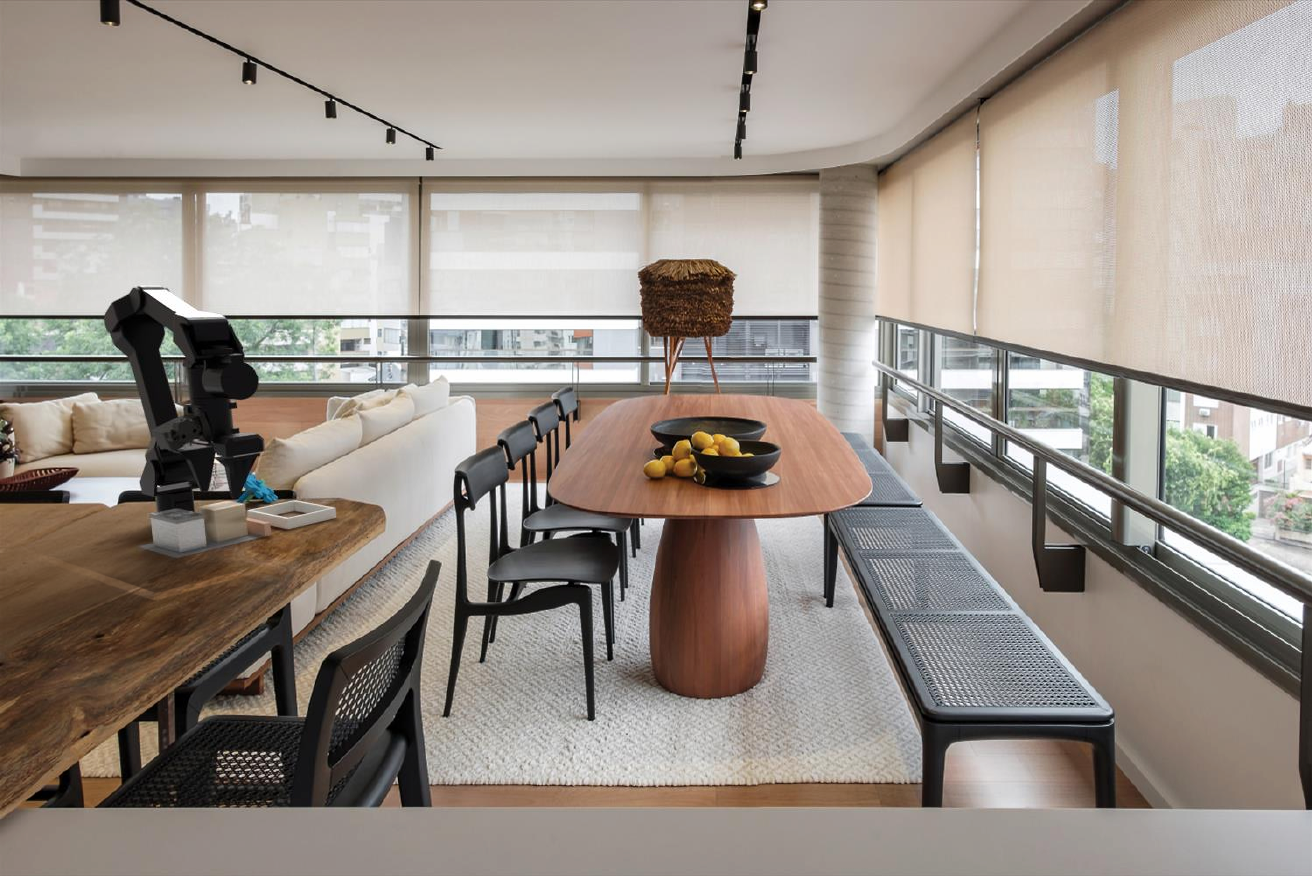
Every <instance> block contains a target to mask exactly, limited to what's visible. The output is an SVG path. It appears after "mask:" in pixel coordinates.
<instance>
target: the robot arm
mask: <svg viewBox="0 0 1312 876" xmlns="http://www.w3.org/2000/svg"><path fill="white" fill-rule="evenodd" d="M103 323H104V328H105V330H106V332H107V333H109V336H110V338H111V341H112V344H113V346H114V347H115V348H117V349H118V351H120V352H121V353H123V355H125V357H127V358H128V360H129V363H130V367H131V370H132V373H133V378H134V380H135V385H136V389H137V391H138V395H139V398H140V402H141V406H142V409H143V413H144V416H145V421H146V424H147V428H148V431H149V435H150V441H149V444H148V446H147V450H146V451H145V454H144V457H145V464H144V465H145V466H144V468H143V471H142V474H141V476H140V479H139V485H140V490H141V494H143V495H146V496H148V497H149V496H150V497H152V498H154V497H155V498H154V499H155V507H156V512H161V511H166V510H171V509H176V508H178V509H182V510H186V511H191V512H195V513H196V508H195V498H194V490H195V489H199V491H200V492H201V493H206V492H208V491H209V490H210V486H211V483H212V482H211V481H212V475H213V470H214V467H215V460H216V461H217V462H219V463H220V465H222V467H224V473H225V476H226V480H227V486H228V489H229V493H230V497H231V498H232V499H239V498H240V497H241V496H242V495H241V494H242V492H243V489H244V485H245V482H246V480H247V477H248V475H249V474H250V473H251V471H252V468H253V467H254V464H255V462H256V461H257V458H258V457H260V456H261V453H263V452H265V450H266V448H265V447H266V446H265V439H264V437H262V435H260V434H259V433H253V432H240V427H234V421H233V420H234V419H233V411H232V410H234V409H238V403H237V401H245V400H247V399H249V398H251V397H252V396H254V394H255V393H256V392H257V390H258V387H259V382H260V378H259V375H258V373H257V372H256V370H255V369H254V367H253V366H252V365H250V364H249V363H247V362H244V359H245V357H246V356H245V352H244V345H243V344H242V342H241V341H240V339H239V338H238V336H237V334H236V333H235V331H234V327H233V325H232V324H231V323H230V322H229V320H228V319H227V318H226V316H224V315H222V314H218V313H216V312H211V311H202V310H201V311H200V310H197V309H195V308H194V307H193V306H190V304H188V303H187V302H184V300H182V299H180V298H178V297H177V296H175V294H173V293H171V291H170V289H169V288H168V287H165V286H163V285H137V286H136V287H132V288H131V290H130V291H129V293H127V294H126V295H124V296H121V297H119V298H118V299H116V300H113V301H112V302H111V304H110V305H109V306H108V308H107V309H106V310H105V312H104V316H103ZM165 328H166V329H167V330H169V331H170V332H172V335H173V336H172V342H173V343H174V345H175V346H176V347H177V348H178V349H179V350H180V352H181V353H182V354H183V356H184V357H185V359H184V360H183V361H182V363H181V366H182V367H183V368H186V377H187V386H188V396H189V397H188V398H189V403H186V404H184V406H183V407H182V411H183V415H181V416H179V414H178V410H177V407H176V404H175V400H174V396H173V394H172V389H171V386H170V383H169V380H168V379H169V378H168V375H167V372H166V369H165V366H164V362H163V358H162V355H161V351H160V349H161V346H162V344H163V341H164V338H165V336H166V330H165ZM232 400H235V401H232Z"/></svg>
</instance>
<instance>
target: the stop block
mask: <svg viewBox="0 0 1312 876" xmlns="http://www.w3.org/2000/svg"><path fill="white" fill-rule="evenodd" d="M197 513H200V514H204V526H205V536H206V539H208V540H212V541H216V542H219V541H223V540H228V539H232V538H236V537H240V536H244V535H248V530H247V520H246V517H247V509H246V504H245V503H237V502H236V501H232V500H231V501H230V500H225V501H221V502H216V503H210V504H205V505H200V506H197Z"/></svg>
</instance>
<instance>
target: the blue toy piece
mask: <svg viewBox="0 0 1312 876" xmlns="http://www.w3.org/2000/svg"><path fill="white" fill-rule="evenodd" d="M243 489H244V492H243V493H242V495H240V497H239V498H237V500H236V501H235V502H237V503H242V504H244V502H245V501H247V502H249V501H250V500H252V498H253V497H255V498H257V499H259V500H260V499H261V498H263V499H262V500H263V501H264V502H265V503H267V504H271V503H272V502H275V501H277V500H278V498H279V497H278V496H277V495H276V494H274V493H275V492H274V490H273V489H272V488H270V487H268V486H267V484H266V481H265V479H263V478H260V479H257V476H256V474H254V473H252V472H250V473H249V475H248V477H247V480H246V482H245V485H244V487H243Z"/></svg>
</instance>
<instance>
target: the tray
mask: <svg viewBox="0 0 1312 876" xmlns="http://www.w3.org/2000/svg"><path fill="white" fill-rule="evenodd" d="M290 512H299V513H300V512H301V513H304V514H299V515H295V516H291V517H286V516H280V515H281V514H286V513H290ZM246 516H247V518H251V519H256V520H260V521H265V522H270V526H272V527H277V528H281V529H285V530H291V529H296V528H299V527H300V528H301V527H304V526H307V525H311V524H315V523H320V522H324V521H328V520H332V519H336V518H337V511H336V507H333V506H328V505H323V504H317V503H312V502H306V501H301V500H296V499H294V500H290V501H285V502H280V503H275V504H271V505H266V506H262V507H258V508H252V509H249V510H247V509H246Z"/></svg>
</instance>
